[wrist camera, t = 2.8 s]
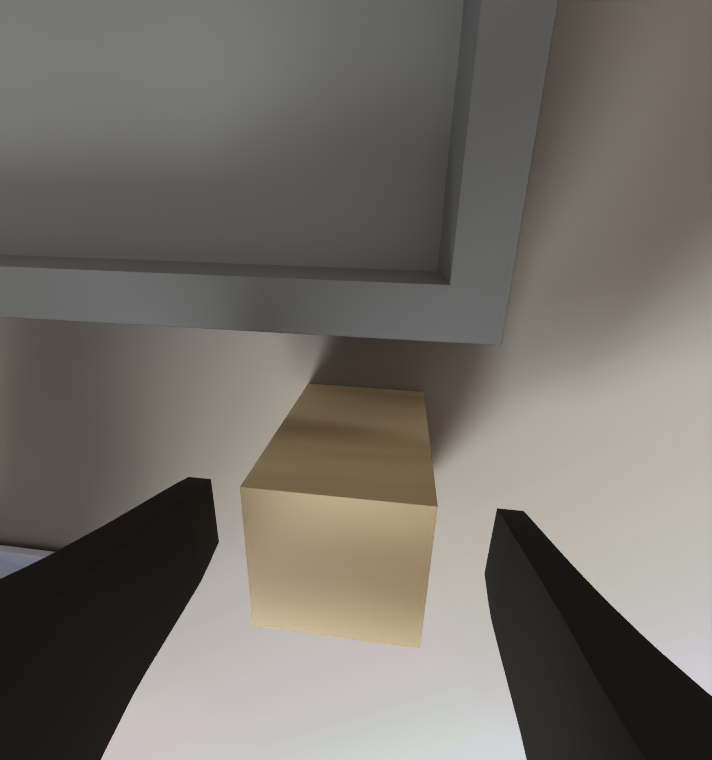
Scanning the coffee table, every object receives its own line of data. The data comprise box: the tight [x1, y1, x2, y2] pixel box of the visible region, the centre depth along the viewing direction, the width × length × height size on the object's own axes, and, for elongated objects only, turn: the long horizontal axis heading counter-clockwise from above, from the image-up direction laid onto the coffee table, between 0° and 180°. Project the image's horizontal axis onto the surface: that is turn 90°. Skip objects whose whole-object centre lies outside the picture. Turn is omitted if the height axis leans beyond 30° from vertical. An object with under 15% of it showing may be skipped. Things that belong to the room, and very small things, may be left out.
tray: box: [0, 0, 558, 345], centre depth 9 cm, size 10×21×4 cm, turn 89°
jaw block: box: [240, 384, 438, 648], centre depth 11 cm, size 4×4×6 cm
